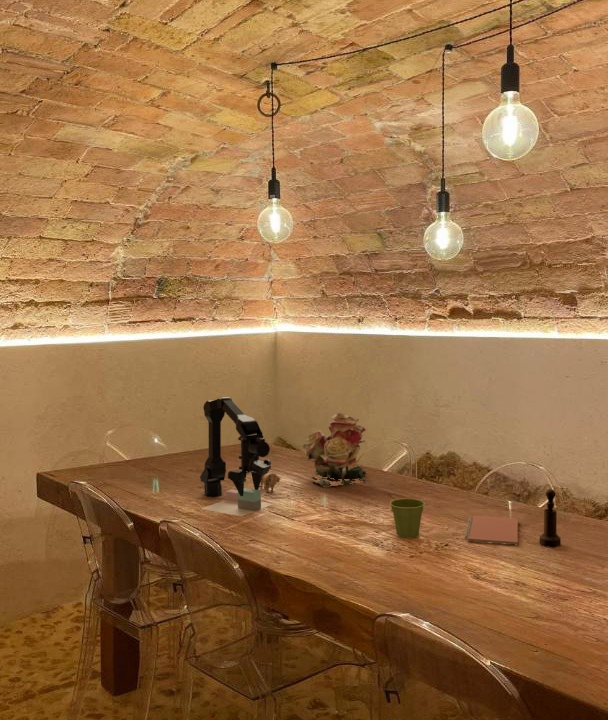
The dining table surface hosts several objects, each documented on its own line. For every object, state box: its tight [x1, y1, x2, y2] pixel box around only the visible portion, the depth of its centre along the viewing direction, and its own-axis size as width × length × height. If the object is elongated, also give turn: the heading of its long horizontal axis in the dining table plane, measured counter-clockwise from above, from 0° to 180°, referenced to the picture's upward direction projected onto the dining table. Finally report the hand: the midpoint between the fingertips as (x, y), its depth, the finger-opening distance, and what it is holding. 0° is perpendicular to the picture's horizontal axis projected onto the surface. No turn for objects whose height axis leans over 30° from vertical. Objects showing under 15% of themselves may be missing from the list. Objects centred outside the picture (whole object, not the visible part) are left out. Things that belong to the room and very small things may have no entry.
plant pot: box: [389, 497, 426, 539], centre depth 256 cm, size 12×12×11 cm
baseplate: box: [200, 499, 273, 517], centre depth 293 cm, size 20×20×4 cm
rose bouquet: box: [302, 412, 368, 487], centre depth 334 cm, size 26×29×30 cm
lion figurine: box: [259, 472, 281, 494], centre depth 317 cm, size 15×5×9 cm, turn 34°
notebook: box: [464, 515, 519, 545], centre depth 260 cm, size 27×17×2 cm, turn 164°
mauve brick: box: [224, 488, 238, 502], centre depth 302 cm, size 8×4×4 cm, turn 56°
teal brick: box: [238, 487, 262, 502], centre depth 290 cm, size 8×4×4 cm, turn 56°
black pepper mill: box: [539, 488, 561, 548], centre depth 245 cm, size 7×6×18 cm
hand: (249, 493), depth 290 cm, fingers open, 9 cm apart
